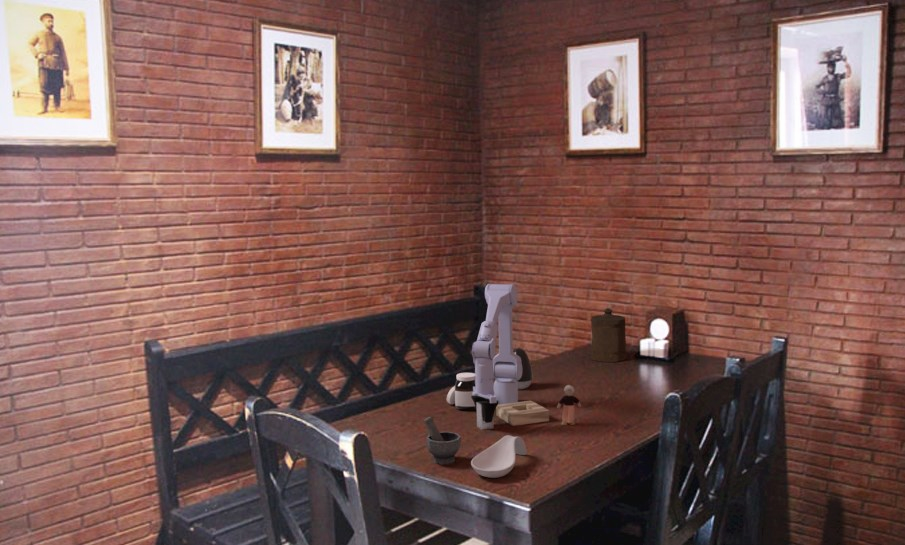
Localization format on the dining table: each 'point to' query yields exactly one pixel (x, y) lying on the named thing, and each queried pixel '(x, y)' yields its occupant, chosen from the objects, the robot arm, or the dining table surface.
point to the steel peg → (482, 419)
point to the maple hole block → (522, 413)
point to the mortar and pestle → (441, 443)
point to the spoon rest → (499, 457)
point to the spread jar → (462, 392)
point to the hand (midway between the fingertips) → (485, 419)
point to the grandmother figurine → (568, 405)
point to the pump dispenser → (524, 369)
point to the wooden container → (608, 337)
